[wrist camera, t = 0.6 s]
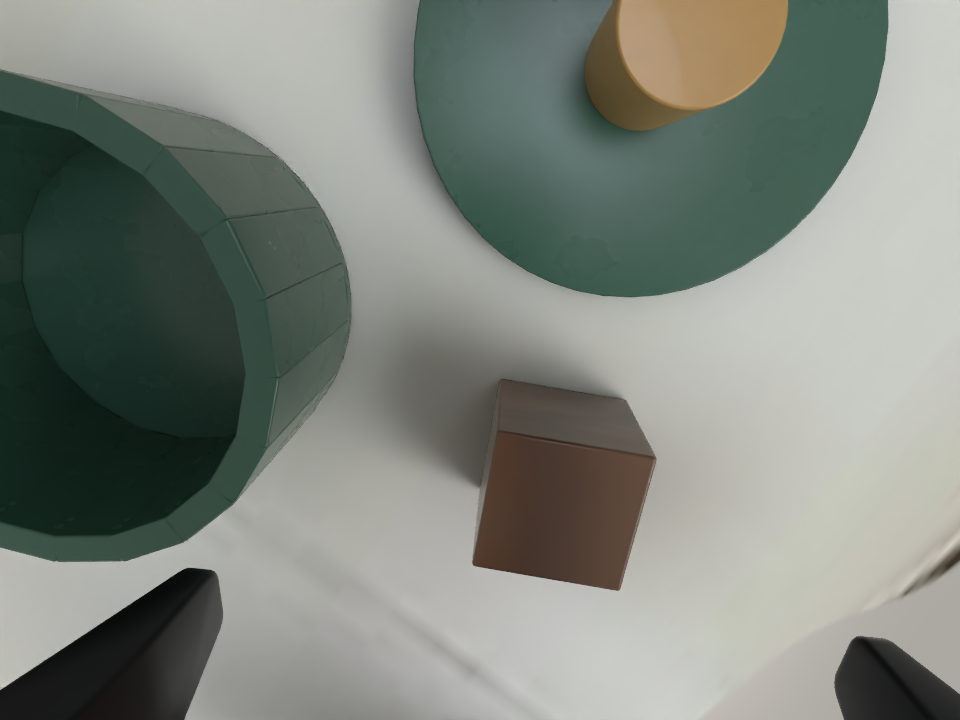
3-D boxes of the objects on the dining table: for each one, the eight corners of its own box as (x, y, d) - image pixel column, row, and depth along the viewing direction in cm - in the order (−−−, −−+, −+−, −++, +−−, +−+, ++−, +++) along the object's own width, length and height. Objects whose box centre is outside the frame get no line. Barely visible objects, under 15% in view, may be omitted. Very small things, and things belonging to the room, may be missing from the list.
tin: (422, 323, 19) (380, 390, 13) (191, 507, 22) (65, 635, 16) (168, 21, 17) (-28, -70, 11) (-56, 266, 20) (-318, 306, 13)
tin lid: (944, 109, 17) (1181, 70, 11) (585, 365, 19) (617, 445, 14) (703, -324, 14) (840, -687, 8) (332, 42, 17) (236, -32, 11)
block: (627, 399, 20) (658, 458, 16) (598, 510, 21) (620, 592, 17) (499, 377, 20) (496, 430, 16) (479, 490, 21) (471, 567, 17)
